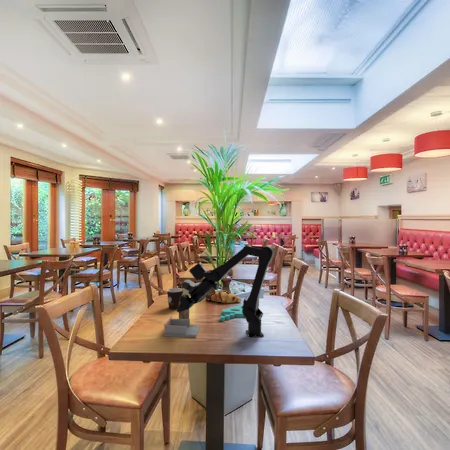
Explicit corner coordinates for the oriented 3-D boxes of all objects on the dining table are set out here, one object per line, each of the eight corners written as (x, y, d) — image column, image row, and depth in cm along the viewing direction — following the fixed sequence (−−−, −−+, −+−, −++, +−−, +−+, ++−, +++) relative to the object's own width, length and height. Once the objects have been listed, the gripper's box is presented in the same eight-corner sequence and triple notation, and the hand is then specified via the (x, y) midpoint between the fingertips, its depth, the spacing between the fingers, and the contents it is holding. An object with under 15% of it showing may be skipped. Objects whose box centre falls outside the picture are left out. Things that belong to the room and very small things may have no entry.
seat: (199, 327, 131) (200, 316, 131) (196, 337, 120) (196, 325, 120) (169, 326, 132) (169, 315, 132) (163, 336, 121) (163, 324, 121)
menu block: (189, 322, 138) (189, 299, 138) (184, 325, 133) (184, 302, 133) (183, 321, 139) (183, 298, 139) (178, 324, 134) (178, 301, 134)
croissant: (241, 307, 174) (242, 294, 178) (240, 303, 165) (241, 289, 169) (208, 303, 178) (209, 291, 182) (204, 300, 169) (206, 287, 173)
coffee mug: (165, 306, 162) (165, 288, 161) (180, 304, 165) (180, 287, 165) (170, 312, 151) (170, 294, 151) (185, 310, 155) (186, 292, 154)
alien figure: (261, 323, 138) (260, 310, 158) (261, 319, 138) (260, 306, 158) (220, 321, 140) (224, 309, 160) (220, 317, 140) (224, 305, 160)
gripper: (201, 271, 143) (181, 290, 147) (183, 278, 125) (161, 300, 129) (215, 288, 140) (194, 308, 144) (199, 298, 123) (176, 320, 127)
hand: (182, 308), depth 136 cm, fingers open, 9 cm apart
